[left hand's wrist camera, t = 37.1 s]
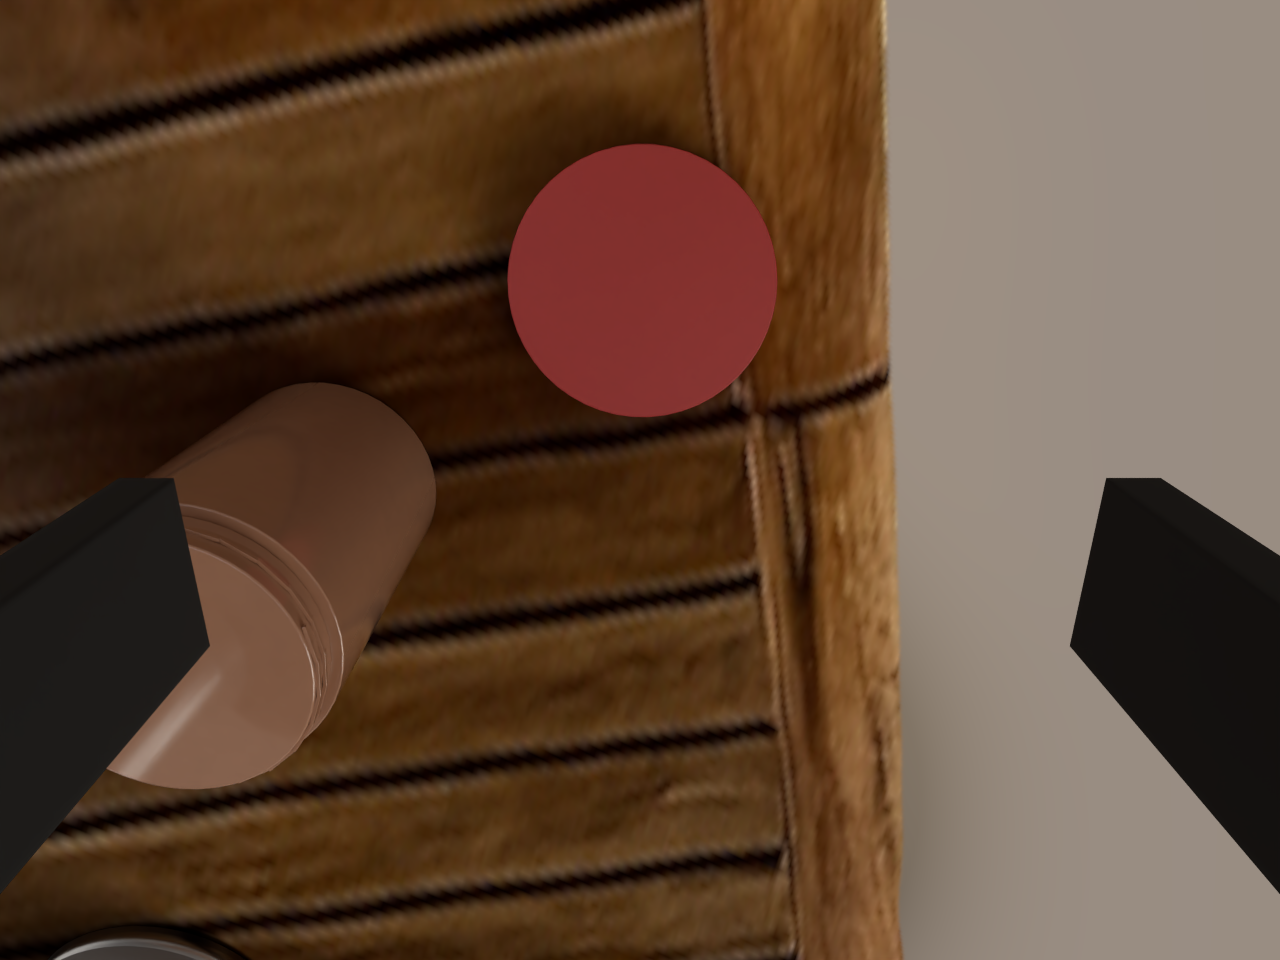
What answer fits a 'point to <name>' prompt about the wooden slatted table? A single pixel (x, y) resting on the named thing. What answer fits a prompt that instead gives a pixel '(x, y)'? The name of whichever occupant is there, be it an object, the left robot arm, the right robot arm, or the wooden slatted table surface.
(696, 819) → the wooden slatted table surface
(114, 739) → the left robot arm
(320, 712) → the jar
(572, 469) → the wooden slatted table surface
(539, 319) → the lid
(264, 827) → the wooden slatted table surface
